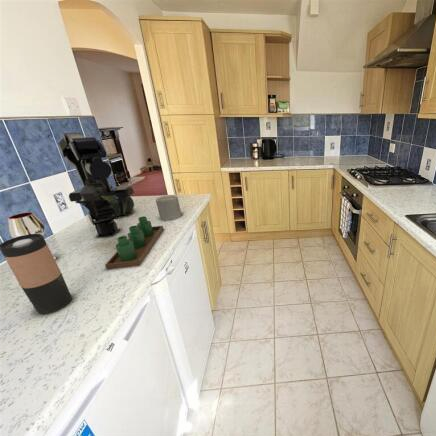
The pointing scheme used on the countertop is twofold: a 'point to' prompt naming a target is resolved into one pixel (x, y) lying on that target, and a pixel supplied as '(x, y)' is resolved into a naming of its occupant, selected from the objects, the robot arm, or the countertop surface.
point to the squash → (115, 204)
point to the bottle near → (145, 226)
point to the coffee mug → (168, 207)
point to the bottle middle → (136, 237)
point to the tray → (140, 252)
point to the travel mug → (37, 272)
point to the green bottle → (125, 249)
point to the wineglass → (25, 225)
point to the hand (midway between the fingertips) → (110, 215)
